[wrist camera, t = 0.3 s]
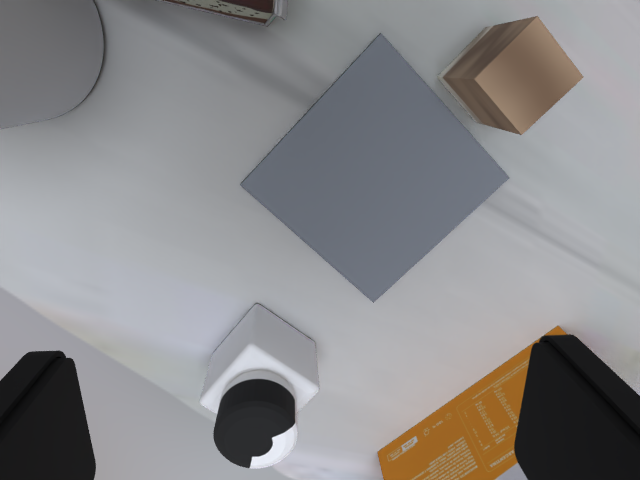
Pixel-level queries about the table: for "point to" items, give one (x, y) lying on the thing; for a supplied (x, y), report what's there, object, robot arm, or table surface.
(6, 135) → the table surface
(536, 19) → the walnut block
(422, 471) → the cereal box
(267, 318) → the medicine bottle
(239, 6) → the food container
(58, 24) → the cylinder vase
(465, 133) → the mat
